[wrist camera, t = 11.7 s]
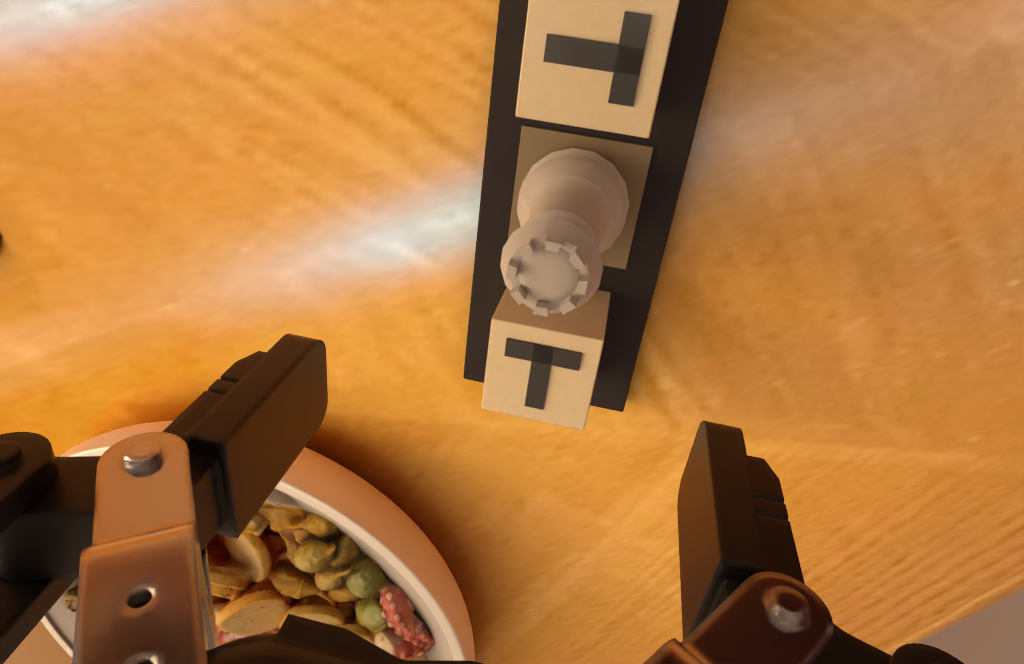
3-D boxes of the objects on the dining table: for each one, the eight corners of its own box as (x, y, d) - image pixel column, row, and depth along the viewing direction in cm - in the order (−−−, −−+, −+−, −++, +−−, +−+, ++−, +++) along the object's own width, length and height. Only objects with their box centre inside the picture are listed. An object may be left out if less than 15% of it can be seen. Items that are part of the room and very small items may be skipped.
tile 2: (552, -36, 23) (532, -37, 19) (678, -18, 22) (683, -17, 18) (536, 95, 25) (514, 117, 21) (650, 113, 24) (649, 139, 20)
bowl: (27, 559, 49) (-73, 652, 42) (152, 295, 34) (29, 373, 28) (352, 753, 54) (308, 865, 47) (583, 594, 39) (568, 723, 32)
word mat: (514, -100, 23) (508, -104, 22) (743, -71, 22) (747, -73, 21) (467, 368, 33) (462, 380, 32) (623, 401, 32) (622, 414, 31)
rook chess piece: (506, 228, 28) (457, 312, 21) (542, 127, 25) (501, 185, 18) (603, 266, 28) (586, 364, 21) (648, 170, 25) (646, 243, 18)
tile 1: (513, 273, 29) (490, 319, 25) (610, 291, 28) (603, 342, 24) (502, 355, 31) (480, 410, 27) (592, 374, 30) (583, 432, 27)
